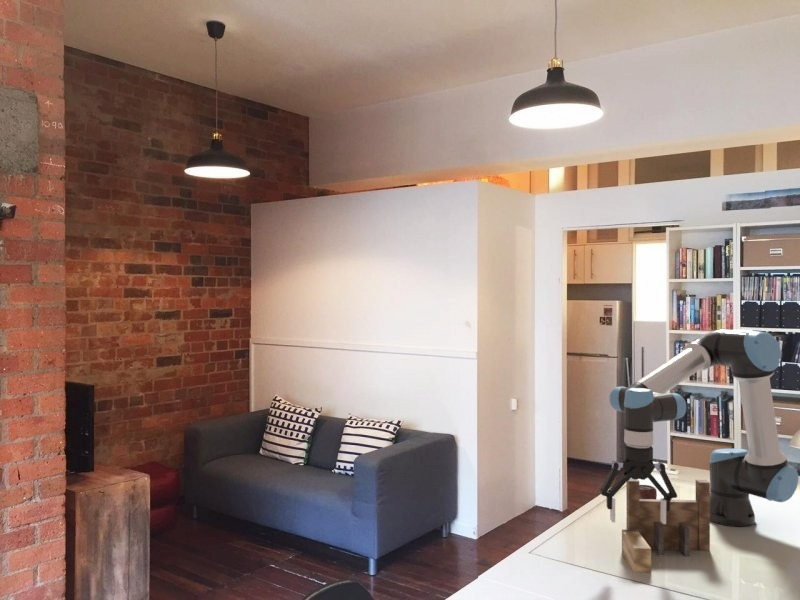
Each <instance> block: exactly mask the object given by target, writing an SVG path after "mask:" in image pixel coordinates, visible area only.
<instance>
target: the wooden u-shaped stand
mask: <svg viewBox="0 0 800 600" xmlns="http://www.w3.org/2000/svg"><path fill="white" fill-rule="evenodd" d="M625 485H626V486H625V487H626V491H625V492H626V498H625V499H626V530H639V533H640V534H641V536H642V537H643V538H644V540H645V541H646V542H647V544H648V545H649V546H650V548H651V550H652V549H653V550H655V552H656V553H657V555H658V556H664V550H679V551H680V552H681V553H682V554H683V556H684V557H690V551H695V550H696V551H702V552H703V551H704V552H705V551H706V552H710V551H711V532H710V531H711V521H710V481H708V480H707V479H695V499H671V501H670V510H669V511H666V524H663V523H662V522H661V521H660V504H661V498H658V499H657V498H656V499H639V485H640V479H632V478H630V479H629V480H628V481H627V482H626V483H625Z"/></svg>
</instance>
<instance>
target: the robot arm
mask: <svg viewBox="0 0 800 600" xmlns="http://www.w3.org/2000/svg"><path fill="white" fill-rule="evenodd" d="M781 359H782V351H781V346H780V344H779V342H778V340H777V339H776V338H775V336H773V335H772V334H771V333H769V332H766V331H759V330H750V329H745V330H744V329H725V328H723V329H716V330H713V331H709V332H708V333H705V334H703V335H701V336H699V337H696V338H695V339H693V340H691V341H690V342H689V343H687V344H686V345H684V347H683V350H682V351H681V352H679V353H678V354H676V355H675V356H673V357H671V358H670V359H669V360H667V361H666V362H663V363H662V364H660V365H659V366H658V367H656V368H655V369H653V370H652V371H650V372H649V373H647V374H645V375H644V376H643V377H641V378H640V379H638V380H636V381H635V382H633V383H631V384H630V385H629V386H627V387H626V386H616V387H614V388H613V389H612V390H611V392H610V395H609V404H610V406H611V407H612V409H613V410H615V411H618V412H620V413H623V415H624V430H623V431H624V432H623V433H624V434H623V435H624V437H623V441H624V446H623V461H622V462H620V461H616V460H613V461H611V467H610V468H611V469H610V471H608V474H607V476H606V478H605V479H604V482H603V484H602V486H601V487H600V489H599V493H600V494H601V496H602V497H603V496H604V497H605V498H606V508H607V510H609V519H610V522H612V523H616V498H615V495H616V494H617V493H618V492H619V490H620V489H621V488H623V486H624V485H626V482H627V481H628V480H629V479H630V478H632V479H638V480H641V481H642V480H646V479H648V480H649V481H650V482H651V483H652V484H653V487H654V488H655V489H656V490H658V492H659V493H660V494H661V495H662V496H661V497H660V499H661V504H660V521H661V522H662V523H663V524H666V511H669V510H670V501H671V500H673V499H676V498H678V494H677V492H676V490H675V488H674V486H673V484H672V481H671V480H670V478H669V475H668V474H667V471H666V465H665V464H664V463H663V462H661V461H659V462H656V463H654V455H653V454H654V448H653V445H654V423H659V422H665V421H666V422H667V421H669V422H671V421H672V422H673V421H675V420H679V419H682V418H683V417H684V416H685V414H686V413H687V402H686V400H685V399H684V397H683V396H682V395H680V394H679V393H677V392H676V393H674V392H672V393H671V392H669V391H670V390H672V389H673V388H675V387H676V386H677V385H679V384H681V383H682V382H684V381H685V380H687V379H688V378H690V377H691V376H693V375H694V374H696V373H697V372H698V371H706V370H708V369H709V368H710V367H714V366H715V367H716V366H718V367H719V366H722V367H723V366H724V367H730V369H731V375H732V377H733V378H735V379H736V380H737V381H738V385H739V393H740V399H741V407H742V414H743V420H744V425H745V426H744V427H745V433H746V440H747V447H748V450H747V449H744V448H716V449H715V450H712V451H711V452H710V455H709V456H710V457H709V459H710V460H709V463H708V464H709V482H710V522H713V523H715V524H719V525H723V526H730V527H748V526H752V525H754V524H755V522H756V514H755V512H754V509H753V505H752V503H751V500H750V496H751V495H752V496H755V497H758V498H762V499H766V500H768V501H769V502H770V501H773V502H778V503H785V502H787V501H788V500H790V499H791V498H792V497H793V496H794V494H795V492H796V491H797V488H798V485H799V473H798V470H797V469H796V468H795V467H794V466H791V464H789V465H788V458H787V455H786V454H785V453H783V452H782V451H781V449H780V448H781V447H780V443H779V433H778V427H777V422H776V421H777V420H776V414H775V406H774V401H773V393H772V386H771V379H770V378H772V376H773V375H775V370H776V369H777V368H778V367H779V365H780V363H781V361H780V360H781ZM622 468H623V469H624V472H623V473H621V475H620V477H619V478H618V479H617V480H616V481H615V483H614V484H612V483H613V482H614V480H615V478H616V477H617V474H618V473H619V472H618V471H620V470H621V469H622ZM654 470H656V471H657V472H659V474H660V477H661V479H662V480H663V482H664V484H665V486H666V488H667V490H668V492H667V491H666V490H665V489H664V488H663V486H662V485H661V484H660V483H659V482H658V480H657V479H656V478H655V477H654V476H653V475H652V472H653V471H654ZM611 485H612V486H611Z"/></svg>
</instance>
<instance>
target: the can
mask: <svg viewBox="0 0 800 600" xmlns="http://www.w3.org/2000/svg"><path fill="white" fill-rule="evenodd" d="M657 492H658V491H657V488H656V487H655V486H652V485H648V484H639V499H657V494H658V493H657Z"/></svg>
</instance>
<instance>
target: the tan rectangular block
mask: <svg viewBox="0 0 800 600" xmlns="http://www.w3.org/2000/svg"><path fill="white" fill-rule="evenodd" d="M621 553H622V555H623V557H625V560H626V561H627V563H628V565H629V567H630V568H631V570H632V571H633V572H634V573H652V549H651V548H650V546H649V545H648V544H647V542H646V541H645V540H644V538H643V537H642V536H641V534H640V533H639V530H627V529H623V528H622V529H621Z"/></svg>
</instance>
